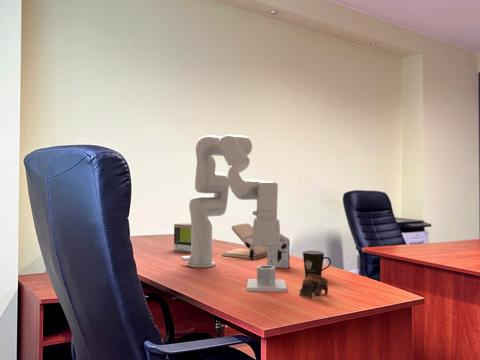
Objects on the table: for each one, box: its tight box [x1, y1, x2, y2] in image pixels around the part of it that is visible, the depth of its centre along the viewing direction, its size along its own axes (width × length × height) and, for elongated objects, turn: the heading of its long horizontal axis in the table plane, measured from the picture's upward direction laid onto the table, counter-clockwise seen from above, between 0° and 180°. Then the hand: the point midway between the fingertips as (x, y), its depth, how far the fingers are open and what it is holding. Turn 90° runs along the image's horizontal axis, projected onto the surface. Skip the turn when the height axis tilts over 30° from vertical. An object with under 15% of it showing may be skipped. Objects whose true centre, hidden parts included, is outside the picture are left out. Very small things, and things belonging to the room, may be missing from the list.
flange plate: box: [246, 278, 288, 293], centre depth 165 cm, size 14×14×5 cm
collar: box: [256, 264, 276, 286], centre depth 165 cm, size 7×7×6 cm
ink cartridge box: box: [266, 238, 291, 269], centre depth 203 cm, size 10×6×14 cm, turn 78°
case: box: [221, 223, 267, 260], centre depth 233 cm, size 20×21×16 cm
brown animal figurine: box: [299, 274, 329, 299], centre depth 152 cm, size 12×10×8 cm
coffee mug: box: [302, 250, 332, 278], centre depth 181 cm, size 12×9×10 cm
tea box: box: [173, 222, 191, 253], centre depth 247 cm, size 15×10×15 cm, turn 58°
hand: (265, 260), depth 165 cm, fingers open, 9 cm apart
